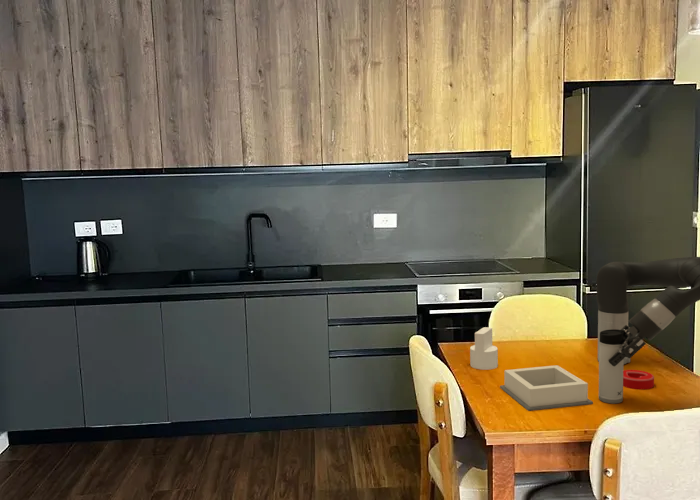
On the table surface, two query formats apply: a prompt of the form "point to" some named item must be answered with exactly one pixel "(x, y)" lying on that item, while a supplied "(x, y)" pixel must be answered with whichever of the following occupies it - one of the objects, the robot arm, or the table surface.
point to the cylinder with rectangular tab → (484, 351)
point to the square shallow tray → (545, 388)
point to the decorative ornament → (637, 379)
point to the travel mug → (610, 367)
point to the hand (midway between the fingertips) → (607, 359)
